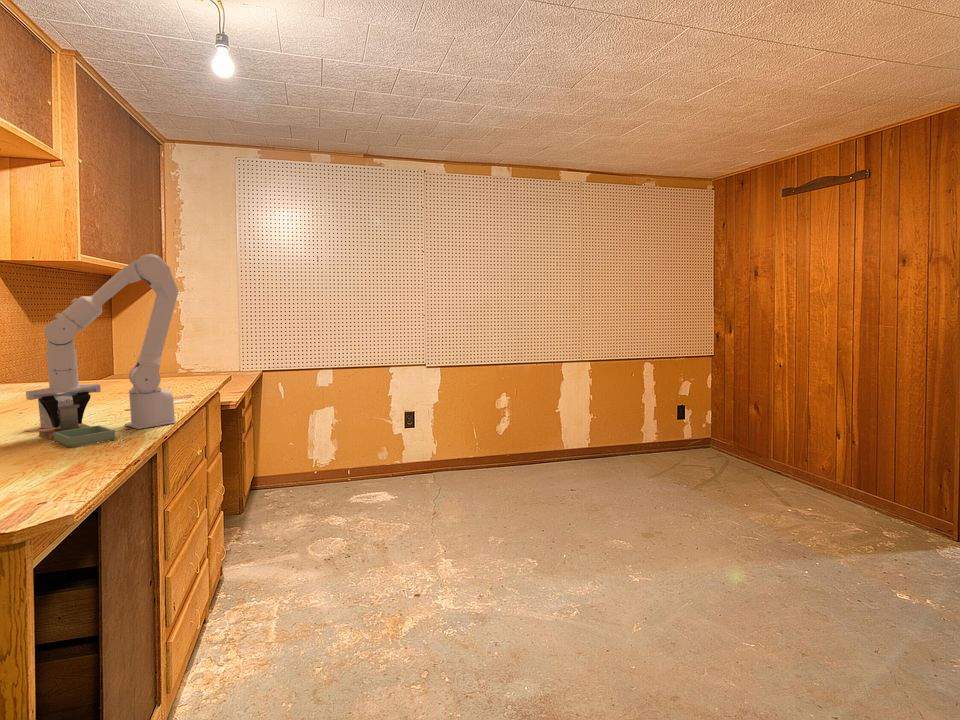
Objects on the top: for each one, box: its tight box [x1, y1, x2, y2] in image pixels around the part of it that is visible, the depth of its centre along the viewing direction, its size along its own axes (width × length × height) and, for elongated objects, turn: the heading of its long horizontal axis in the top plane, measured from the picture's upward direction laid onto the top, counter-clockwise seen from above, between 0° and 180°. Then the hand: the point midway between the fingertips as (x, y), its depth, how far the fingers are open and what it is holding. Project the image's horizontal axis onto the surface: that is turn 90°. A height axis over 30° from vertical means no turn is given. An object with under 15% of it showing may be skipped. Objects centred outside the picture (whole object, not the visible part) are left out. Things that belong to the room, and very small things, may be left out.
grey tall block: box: [56, 402, 80, 432], centre depth 134 cm, size 4×4×7 cm
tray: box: [53, 424, 116, 448], centre depth 128 cm, size 9×9×2 cm
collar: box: [38, 423, 91, 441], centre depth 135 cm, size 9×9×1 cm
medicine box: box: [37, 392, 73, 429], centre depth 144 cm, size 8×4×9 cm, turn 179°
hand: (67, 425), depth 135 cm, fingers closed on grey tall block, 4 cm apart
